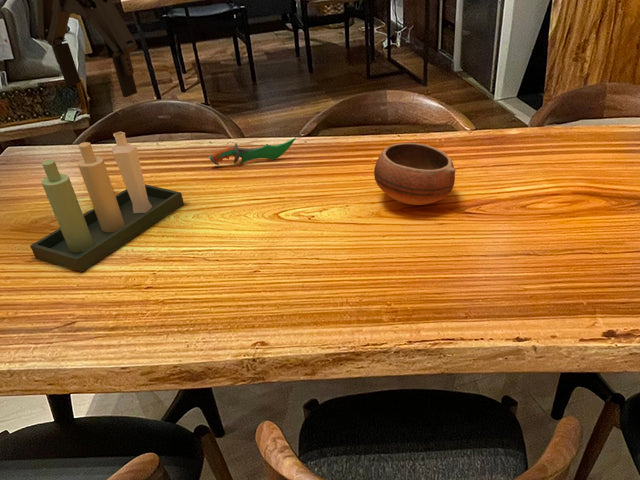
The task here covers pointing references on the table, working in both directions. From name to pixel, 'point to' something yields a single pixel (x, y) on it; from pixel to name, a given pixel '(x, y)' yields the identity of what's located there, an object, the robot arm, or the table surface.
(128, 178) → the perfume bottle
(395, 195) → the bowl
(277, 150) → the knife
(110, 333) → the table surface
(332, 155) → the table surface
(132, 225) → the tray
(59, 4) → the robot arm
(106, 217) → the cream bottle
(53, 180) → the sage bottle
